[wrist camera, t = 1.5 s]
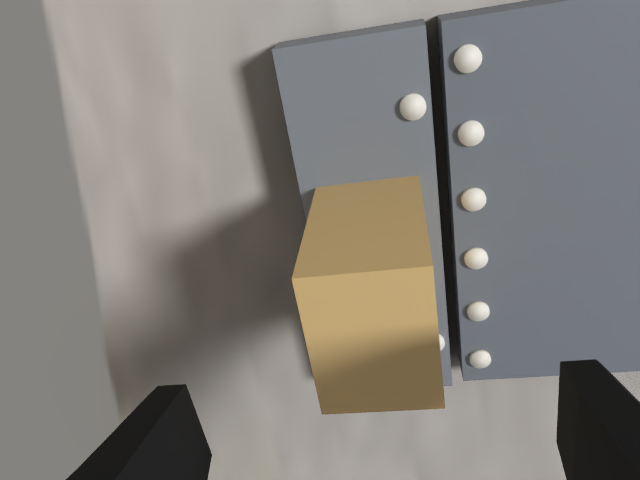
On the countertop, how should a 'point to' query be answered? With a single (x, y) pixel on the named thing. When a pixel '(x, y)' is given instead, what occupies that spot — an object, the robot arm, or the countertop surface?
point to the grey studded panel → (544, 184)
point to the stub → (368, 217)
